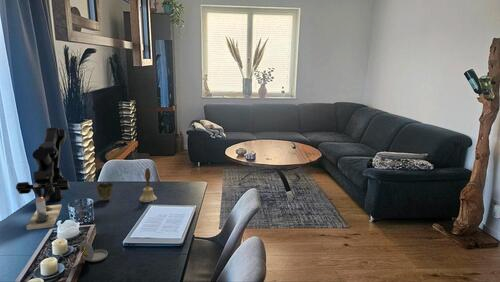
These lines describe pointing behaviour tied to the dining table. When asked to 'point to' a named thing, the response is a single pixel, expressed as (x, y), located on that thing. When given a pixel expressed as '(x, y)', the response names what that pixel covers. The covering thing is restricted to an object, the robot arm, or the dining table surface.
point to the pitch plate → (53, 215)
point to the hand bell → (147, 189)
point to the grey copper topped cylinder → (41, 210)
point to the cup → (105, 190)
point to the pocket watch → (91, 252)
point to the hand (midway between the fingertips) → (42, 204)
